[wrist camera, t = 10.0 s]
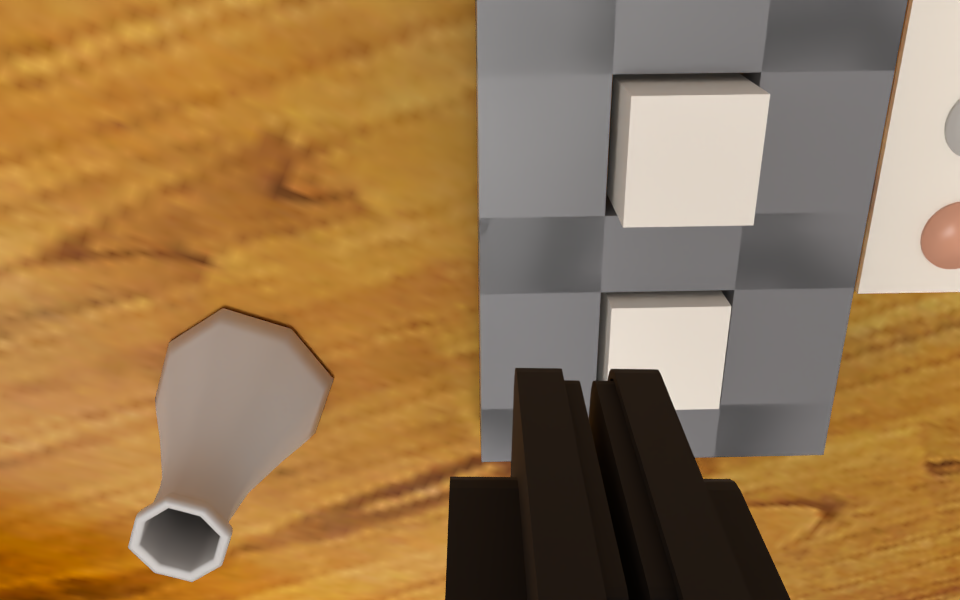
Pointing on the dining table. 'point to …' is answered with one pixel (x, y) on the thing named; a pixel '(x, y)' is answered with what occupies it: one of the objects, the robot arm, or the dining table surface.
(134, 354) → the dining table surface
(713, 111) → the button
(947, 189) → the pattern card
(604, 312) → the button
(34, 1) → the dining table surface
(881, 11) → the button board
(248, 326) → the flask
